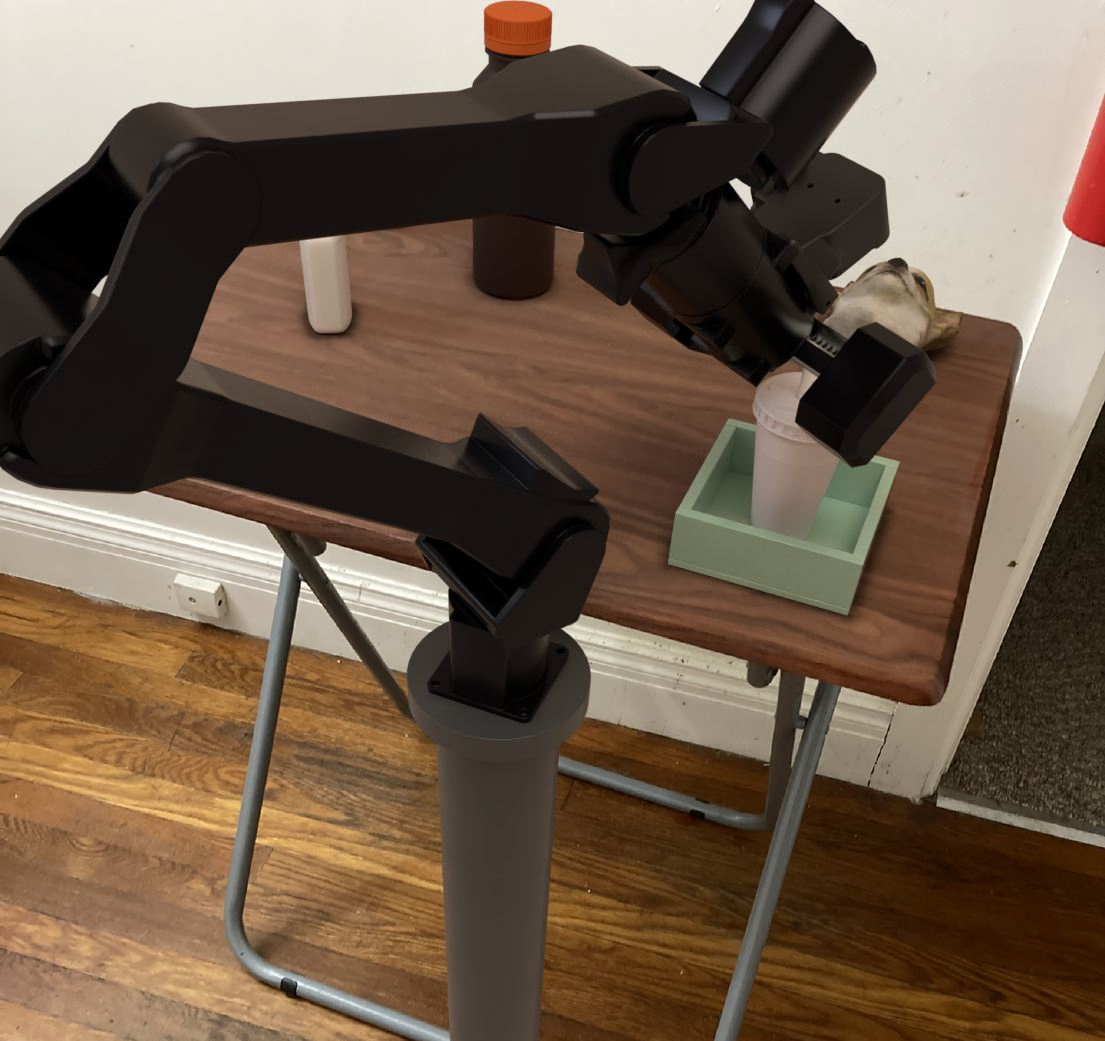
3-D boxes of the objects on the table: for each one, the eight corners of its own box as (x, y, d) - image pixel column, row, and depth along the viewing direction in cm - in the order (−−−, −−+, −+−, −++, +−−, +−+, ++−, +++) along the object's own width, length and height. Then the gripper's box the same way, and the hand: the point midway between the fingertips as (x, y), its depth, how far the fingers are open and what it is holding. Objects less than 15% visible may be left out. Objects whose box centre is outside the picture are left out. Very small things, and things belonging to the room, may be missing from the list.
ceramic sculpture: (799, 270, 82) (862, 208, 92) (773, 383, 88) (835, 313, 98) (946, 312, 79) (995, 243, 89) (908, 426, 85) (958, 349, 95)
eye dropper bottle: (371, 308, 94) (359, 153, 85) (337, 340, 90) (321, 182, 81) (324, 297, 95) (307, 142, 86) (288, 328, 91) (267, 170, 82)
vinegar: (480, 257, 100) (479, -8, 86) (558, 266, 100) (571, 0, 85) (465, 295, 96) (462, 21, 81) (547, 304, 95) (558, 30, 81)
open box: (847, 616, 71) (863, 564, 68) (667, 564, 74) (675, 512, 71) (884, 511, 78) (900, 461, 75) (719, 468, 81) (728, 417, 78)
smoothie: (712, 511, 77) (748, 310, 66) (798, 494, 78) (846, 296, 68) (757, 570, 73) (802, 367, 62) (846, 551, 74) (904, 350, 64)
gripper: (969, 190, 50) (1047, 358, 62) (697, 55, 60) (811, 223, 73) (796, 403, 53) (905, 523, 65) (564, 239, 63) (696, 371, 75)
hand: (827, 399), depth 69 cm, fingers open, 9 cm apart
